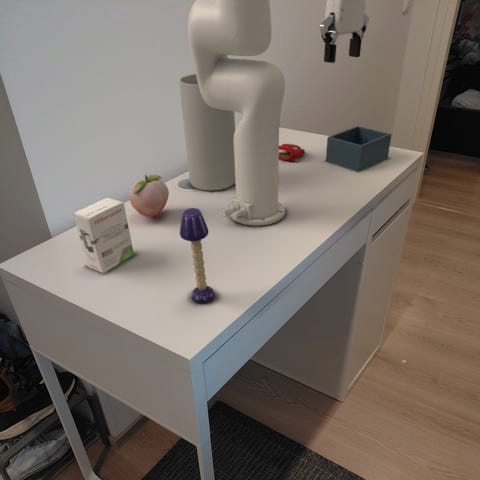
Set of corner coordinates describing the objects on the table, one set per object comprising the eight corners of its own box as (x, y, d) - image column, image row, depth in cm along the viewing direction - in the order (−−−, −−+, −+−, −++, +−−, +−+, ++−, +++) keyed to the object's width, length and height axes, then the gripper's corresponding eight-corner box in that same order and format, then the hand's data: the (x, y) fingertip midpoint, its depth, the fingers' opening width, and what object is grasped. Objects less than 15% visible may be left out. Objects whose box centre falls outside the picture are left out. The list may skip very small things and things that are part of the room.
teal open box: (358, 171, 129) (361, 146, 125) (325, 161, 136) (327, 137, 132) (387, 158, 136) (391, 133, 132) (355, 149, 143) (357, 125, 139)
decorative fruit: (146, 205, 117) (139, 165, 111) (176, 210, 115) (171, 169, 109) (125, 222, 111) (116, 180, 104) (156, 228, 108) (149, 185, 102)
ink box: (119, 248, 101) (107, 195, 94) (135, 255, 99) (124, 201, 92) (86, 266, 96) (71, 212, 89) (103, 274, 94) (89, 218, 86)
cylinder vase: (181, 181, 129) (169, 78, 113) (219, 169, 134) (213, 70, 119) (207, 196, 121) (198, 87, 105) (246, 182, 126) (243, 78, 111)
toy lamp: (207, 307, 84) (199, 219, 73) (183, 302, 85) (171, 215, 75) (218, 292, 87) (211, 206, 77) (195, 287, 89) (185, 202, 78)
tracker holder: (300, 144, 144) (311, 147, 135) (297, 160, 146) (308, 163, 137) (261, 139, 141) (270, 140, 132) (259, 154, 143) (267, 157, 134)
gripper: (359, -26, 119) (351, 53, 130) (311, -21, 110) (307, 62, 121) (384, -25, 115) (374, 56, 125) (337, -21, 106) (331, 66, 116)
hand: (342, 59), depth 123 cm, fingers open, 9 cm apart
